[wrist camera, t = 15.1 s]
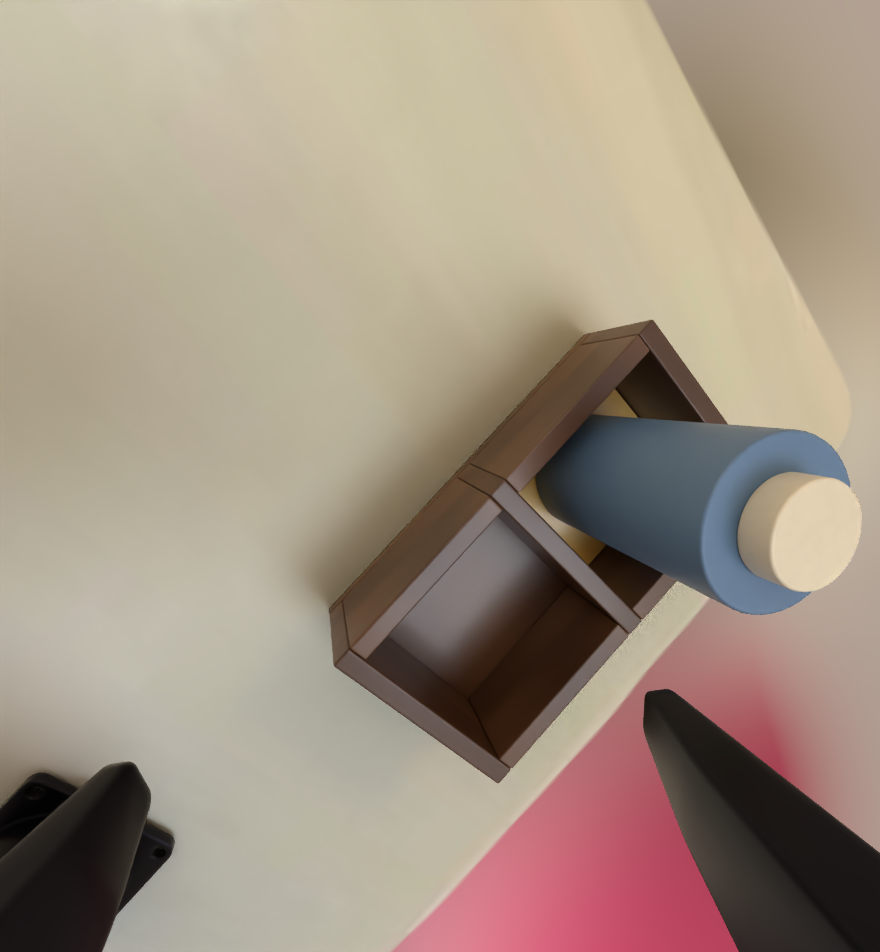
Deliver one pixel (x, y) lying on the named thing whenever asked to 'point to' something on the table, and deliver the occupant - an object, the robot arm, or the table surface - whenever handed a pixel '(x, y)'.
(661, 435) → the bottle
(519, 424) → the organizer
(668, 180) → the table surface
